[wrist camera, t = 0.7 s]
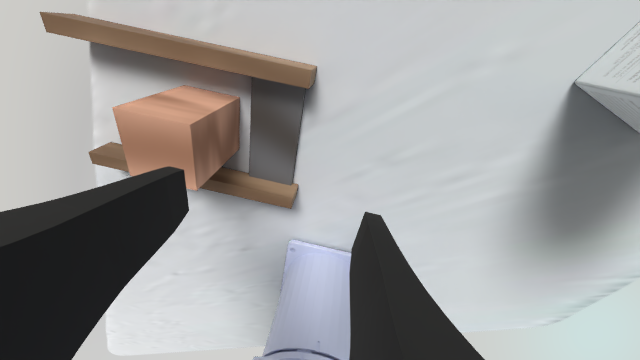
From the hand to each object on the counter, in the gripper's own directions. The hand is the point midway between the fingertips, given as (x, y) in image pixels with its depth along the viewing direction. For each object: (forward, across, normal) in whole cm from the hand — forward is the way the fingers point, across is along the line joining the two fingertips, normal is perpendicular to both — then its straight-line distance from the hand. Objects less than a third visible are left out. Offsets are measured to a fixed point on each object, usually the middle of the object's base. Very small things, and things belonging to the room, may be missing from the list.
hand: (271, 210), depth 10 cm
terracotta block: (+9, +7, +1) cm, 12 cm away
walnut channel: (+9, +8, +1) cm, 13 cm away
